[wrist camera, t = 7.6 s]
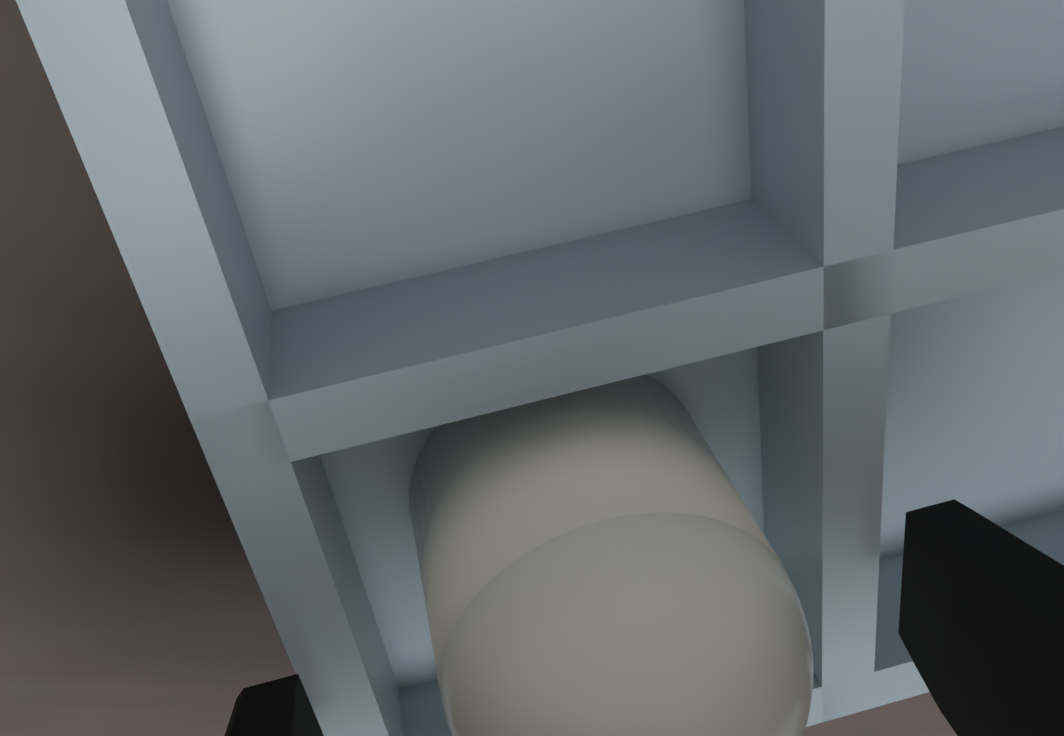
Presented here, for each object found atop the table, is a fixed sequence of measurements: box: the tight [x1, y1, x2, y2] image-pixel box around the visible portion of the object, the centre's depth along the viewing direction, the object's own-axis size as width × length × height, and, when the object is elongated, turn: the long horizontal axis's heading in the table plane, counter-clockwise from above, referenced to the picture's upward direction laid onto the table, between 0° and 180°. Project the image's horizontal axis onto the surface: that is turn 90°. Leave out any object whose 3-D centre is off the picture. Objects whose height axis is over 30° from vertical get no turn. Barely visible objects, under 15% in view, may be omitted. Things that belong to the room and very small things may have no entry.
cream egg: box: [409, 374, 813, 736], centre depth 12 cm, size 4×4×5 cm
